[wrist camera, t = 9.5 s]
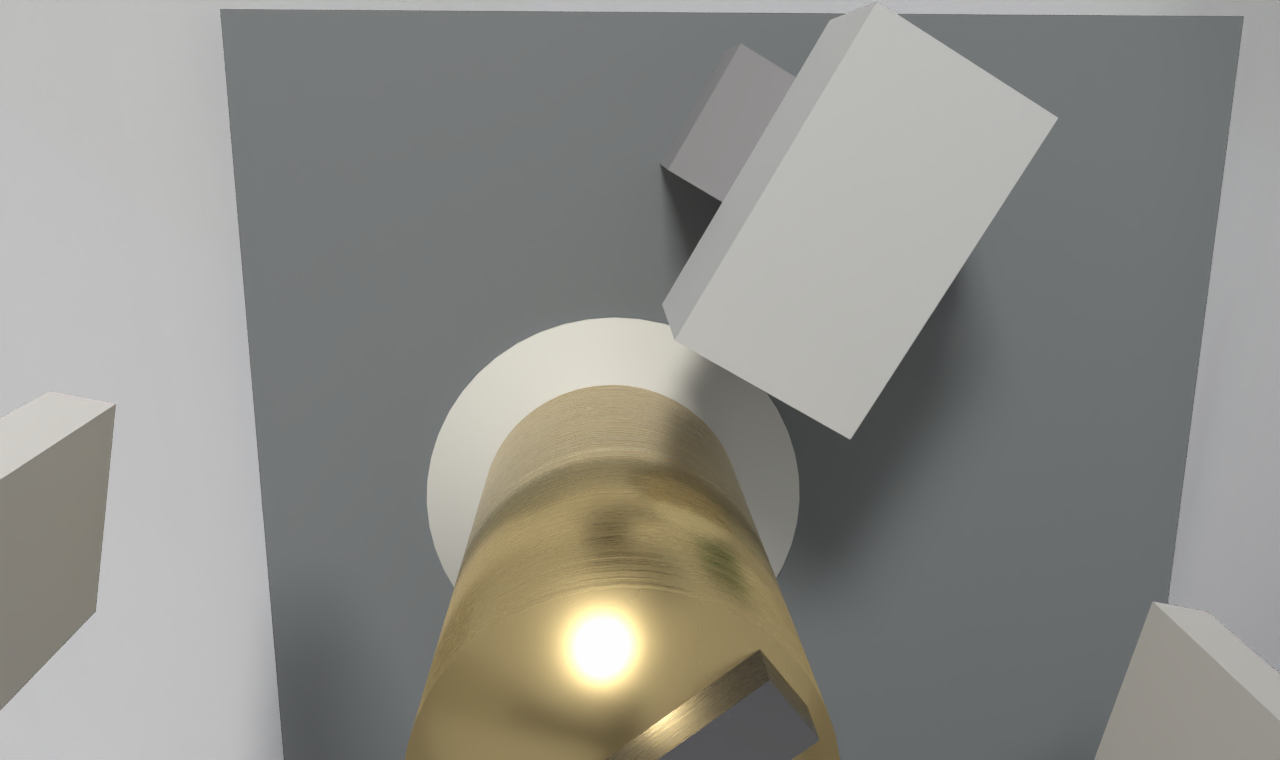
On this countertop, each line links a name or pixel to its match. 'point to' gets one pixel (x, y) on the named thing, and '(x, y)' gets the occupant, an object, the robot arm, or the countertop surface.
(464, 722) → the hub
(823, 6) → the countertop surface
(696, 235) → the jig board
